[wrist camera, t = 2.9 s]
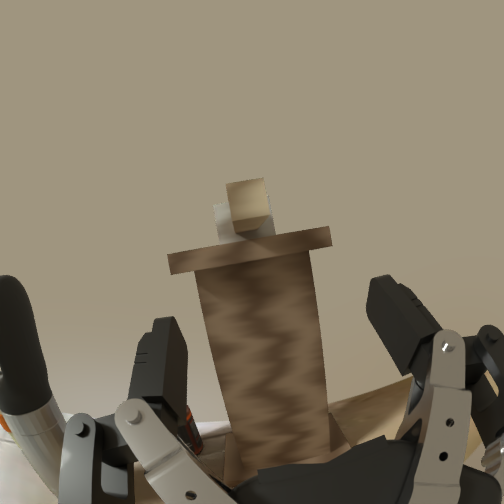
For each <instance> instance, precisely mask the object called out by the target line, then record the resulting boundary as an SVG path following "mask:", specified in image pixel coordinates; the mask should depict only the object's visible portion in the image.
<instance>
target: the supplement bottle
mask: <svg viewBox="0 0 504 504" xmlns="http://www.w3.org/2000/svg"><path fill="white" fill-rule="evenodd" d="M177 435H178V436H179V437H180V438H181V439H182V441H183V442H184V443H185V444H186V445H187V446H188V447H189V448H190V450H191V451H192V452H193V453H194V454H195V455H196V454H198V453H199V452H200V451H201V450H202V448H203V442H202V439H201V437H200V434H199V432H198V429H197V427H196V424H195V422H194V419H193V416H192V413H191V411H190V408H189V407H188V405H187V425H178V432H177Z"/></svg>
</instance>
